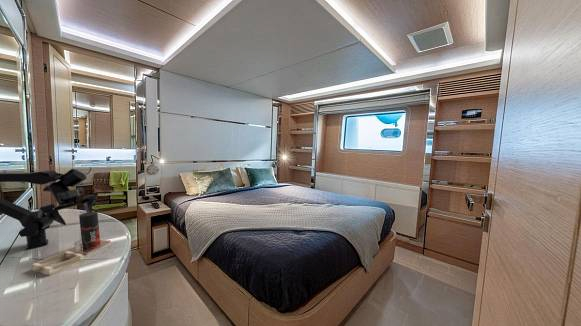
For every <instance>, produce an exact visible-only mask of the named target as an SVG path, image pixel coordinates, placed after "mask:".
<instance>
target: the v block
mask: <svg viewBox="0 0 581 326" xmlns="http://www.w3.org/2000/svg"><path fill="white" fill-rule="evenodd" d="M110 243H111V240H109V239H108V240H107V239H106V240H105V239H100V245H99V246H97V247H95V248H92V249H83V248H82V239H81V238H80V239H78V240H75V241H74V244H73V245H74V246H73V247H70V248H69V249H67V250H64V251H63V252H65V251H70V252H74V253H78V254H82V255H89V254H91V253H94V252H95V251H96V250H98V249H100V248H102V247H105V246H106V245H109V244H110Z"/></svg>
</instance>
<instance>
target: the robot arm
mask: <svg viewBox="0 0 581 326" xmlns="http://www.w3.org/2000/svg"><path fill="white" fill-rule="evenodd" d="M85 180H87V176H86V174H85V173H84V172H81V171H79V170H77V169H75V168H71V169H70V170H68V171H67V172H65V173H60V172H58V171H56V170H52V169H49V170H39V171H33V172H0V183H11V182H12V183H18V182H19V183H20V182H21V183H23V182H24V183H29V184H33V185H45V186H44V188H43V189H42V192H50V193H51V195H52V197H53V198H54V202H55V203H57V204H58V205H56V206H55V204H53V203H51V204H47V205H43V206H40V207H39V209H38V210H36V211H32V210H29V209H27V208H24V207H22V206H20V205H18V204H17V203H14V202H11V201H9V200H7V199H5V198H2V197H0V214H3V215H5V216H8V217H9V218H12V219H15V220H17V221H19V223H20V225H21V226H22V227H23V228H22V229H21V230H20V231H19V232H18V235H19V236H20V238H23V237H26V245H25V250H31V249H35V248H39V247H43V246H48V244H49V239H47V233H46V230H48V229H49V228H50V227H51V225H52V224H53V223H54V221H55V222H57V223H59V224H61V225H63V226H66V225H67V223H66V221H65V220H64V218H63V216H62V215H61V214H60V213H59V211H60V210H65V209H68V208H72V207H76V206H79V205H80V206H81V205H82V206H83V209H84V210H85V211H86V212H85V213H88V212H93V208H92V207H93V205H95V204H96V202H97V200H98V197H97V195H96V194H94V193H92V194H91V195H90V194H89V195H85V196H83V199H80V198H79V197H80V196H81V195H84V193H85V189H84V188H83V187H82V186H79V187H76V186H77V185H79V184H81V183H83V182H84V181H85ZM47 184H49V185H47ZM69 187H72V188H75V187H76V188H75V189H70V188H69ZM79 199H80V200H79Z"/></svg>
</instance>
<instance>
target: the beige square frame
mask: <svg viewBox="0 0 581 326" xmlns="http://www.w3.org/2000/svg"><path fill="white" fill-rule="evenodd" d="M64 251H65V252H64ZM64 251H63V252H61V253H57V254H56V255H52V256H50V257H47V258H44V259H42V260H39V261H36V262H34V263H32V264H31V267H32V271H34V272H37V273H40V274H43V275H46V276H49V277H51V276H53V275H54V274H56V273H60V272H61V270H62V271H64V270H66V269H68V268H71V267H72V266H74V265H76V264H79V263H81V262H84V260H85V259H84V258H85V257H84V254H78V253H74V252H70V251H67V250H64ZM65 259H68V260H65ZM62 260H63V262H60V261H62ZM64 260H65V261H64ZM58 262H60V263H58ZM55 263H56V264H55ZM52 264H55V265H53V266H50V265H52Z"/></svg>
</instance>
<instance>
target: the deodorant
mask: <svg viewBox="0 0 581 326" xmlns="http://www.w3.org/2000/svg"><path fill="white" fill-rule="evenodd" d="M78 218H79V227H80V237H81V238H80V239H82V248H83V249H92V248H95V247H97V246H99V245H100V240H101V236H100V225H99V215H98V212H97V211H92V212H88V213H87V212H83V213H81V214H79V215H78Z"/></svg>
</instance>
